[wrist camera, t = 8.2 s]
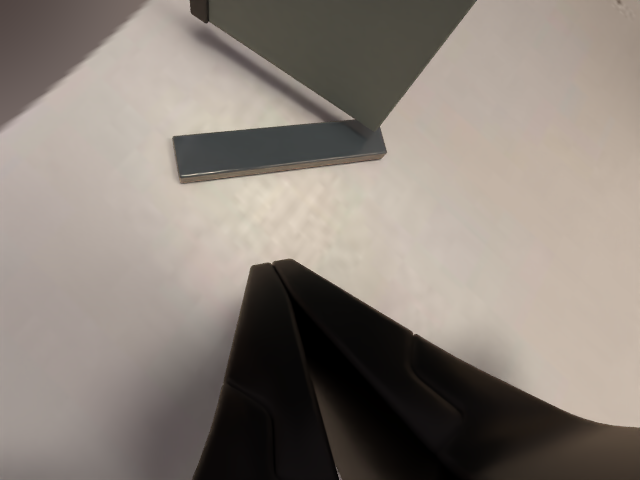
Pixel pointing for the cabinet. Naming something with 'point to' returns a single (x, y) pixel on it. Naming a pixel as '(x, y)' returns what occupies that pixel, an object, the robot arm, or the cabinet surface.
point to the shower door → (342, 44)
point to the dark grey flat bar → (274, 149)
